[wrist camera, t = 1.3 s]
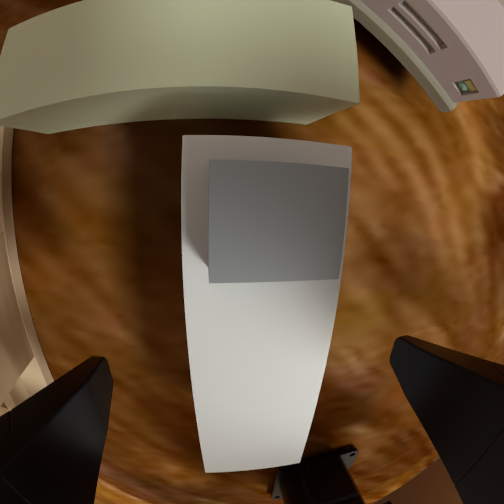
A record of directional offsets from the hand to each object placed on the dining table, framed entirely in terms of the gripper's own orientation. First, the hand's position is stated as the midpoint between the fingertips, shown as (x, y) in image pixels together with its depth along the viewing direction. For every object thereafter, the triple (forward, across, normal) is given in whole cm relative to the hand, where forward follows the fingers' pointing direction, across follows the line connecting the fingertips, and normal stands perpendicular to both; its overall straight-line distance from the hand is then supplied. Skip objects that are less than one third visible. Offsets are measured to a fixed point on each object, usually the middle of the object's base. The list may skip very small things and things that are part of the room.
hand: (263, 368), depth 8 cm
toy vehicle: (+5, -11, -19) cm, 23 cm away
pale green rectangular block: (+5, +3, -9) cm, 11 cm away
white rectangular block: (+5, 0, 0) cm, 5 cm away
